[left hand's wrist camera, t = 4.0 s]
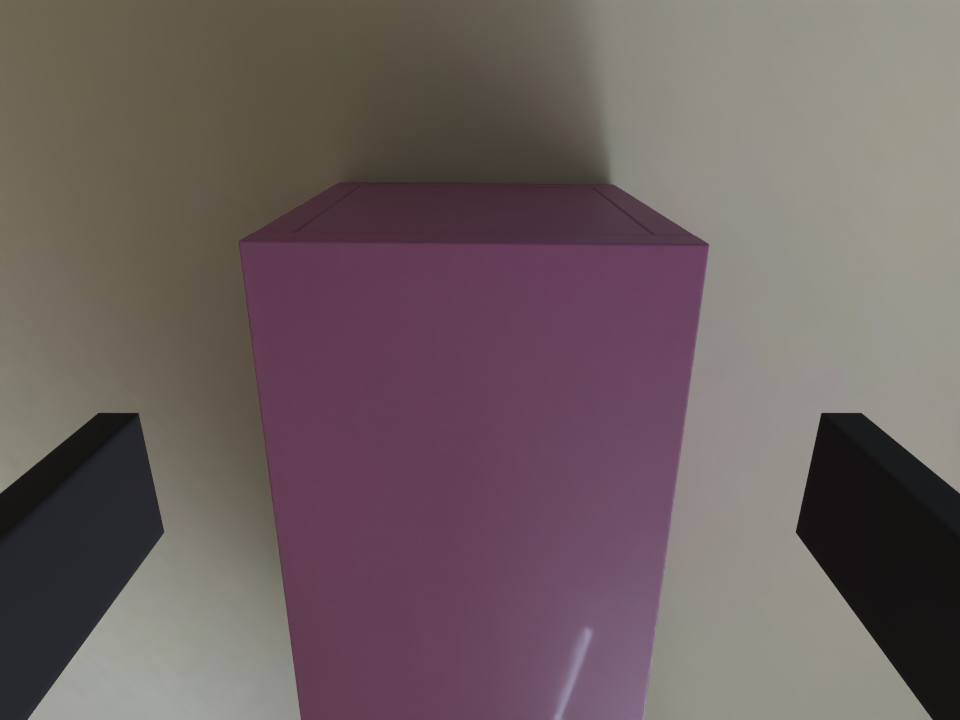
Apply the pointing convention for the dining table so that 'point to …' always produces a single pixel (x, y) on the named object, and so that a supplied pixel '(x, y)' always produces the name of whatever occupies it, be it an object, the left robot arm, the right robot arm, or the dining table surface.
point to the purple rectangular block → (473, 443)
